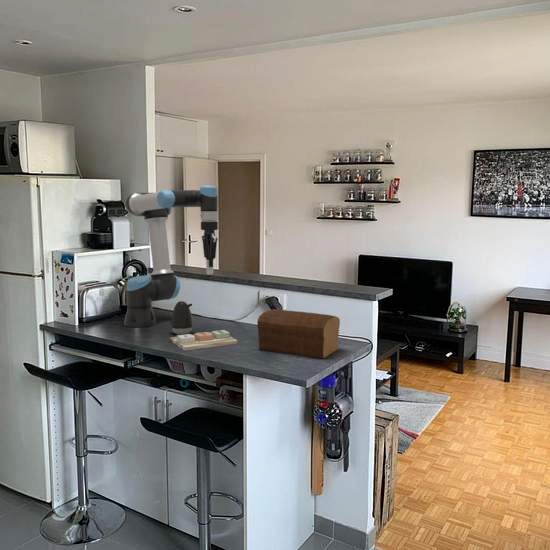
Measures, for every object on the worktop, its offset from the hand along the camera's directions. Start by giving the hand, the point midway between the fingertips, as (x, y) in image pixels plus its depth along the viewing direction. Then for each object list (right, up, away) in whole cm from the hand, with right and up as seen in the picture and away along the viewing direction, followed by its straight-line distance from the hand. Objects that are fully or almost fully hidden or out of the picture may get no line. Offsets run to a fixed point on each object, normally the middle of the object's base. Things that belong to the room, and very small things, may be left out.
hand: (209, 273), depth 258 cm
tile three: (+5, -28, -3) cm, 29 cm away
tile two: (-2, -29, -7) cm, 30 cm away
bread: (+39, -32, -18) cm, 53 cm away
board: (-2, -30, -7) cm, 31 cm away
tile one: (-9, -29, -11) cm, 33 cm away
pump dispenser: (-14, -28, +8) cm, 32 cm away
